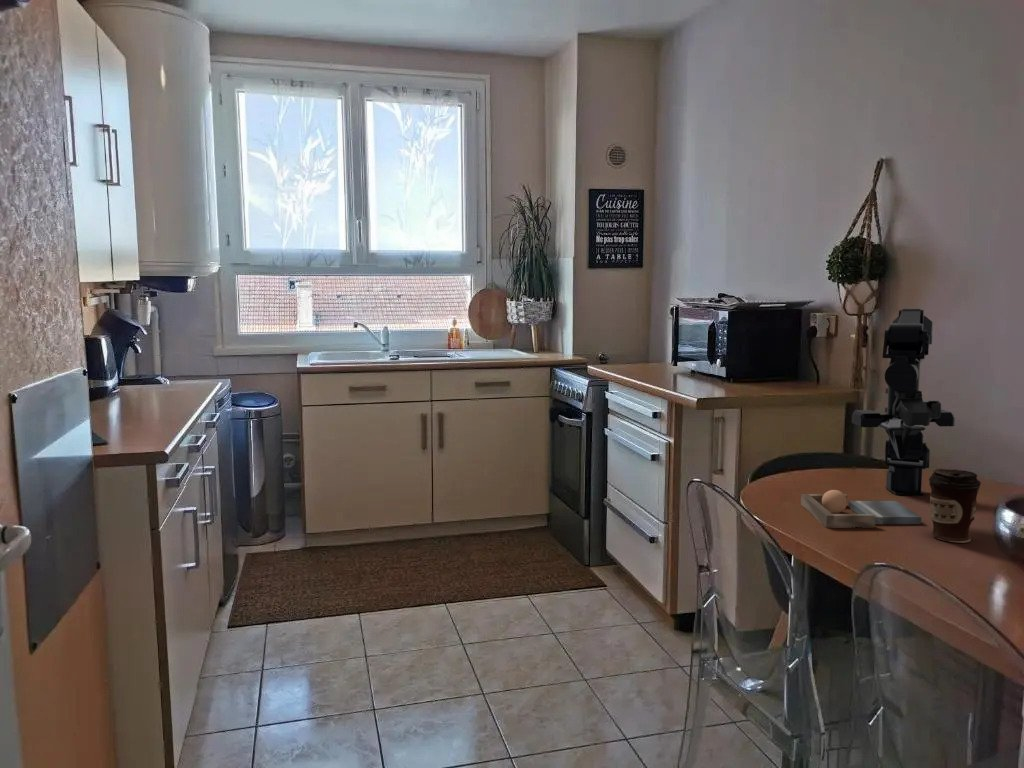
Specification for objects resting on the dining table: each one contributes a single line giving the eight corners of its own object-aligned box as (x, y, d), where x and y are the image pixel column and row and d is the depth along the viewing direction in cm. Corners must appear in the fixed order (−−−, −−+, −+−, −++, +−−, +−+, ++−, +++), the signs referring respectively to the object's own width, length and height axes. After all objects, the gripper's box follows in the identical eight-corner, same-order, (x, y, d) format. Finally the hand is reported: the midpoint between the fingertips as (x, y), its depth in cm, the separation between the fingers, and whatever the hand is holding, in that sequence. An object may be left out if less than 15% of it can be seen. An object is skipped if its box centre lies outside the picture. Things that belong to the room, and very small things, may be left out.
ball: (822, 501, 169) (847, 501, 167) (822, 518, 166) (848, 518, 164) (820, 485, 167) (846, 484, 165) (820, 501, 163) (846, 501, 161)
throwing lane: (891, 504, 171) (891, 493, 170) (926, 527, 154) (926, 515, 154) (801, 505, 172) (801, 494, 172) (826, 527, 156) (826, 515, 155)
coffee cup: (957, 548, 142) (961, 479, 140) (916, 536, 149) (918, 470, 148) (986, 540, 146) (990, 473, 144) (944, 529, 153) (947, 464, 152)
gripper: (872, 390, 153) (870, 468, 155) (970, 389, 152) (966, 467, 154) (851, 383, 164) (849, 456, 166) (942, 382, 163) (939, 455, 165)
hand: (900, 458), depth 162 cm, fingers closed
